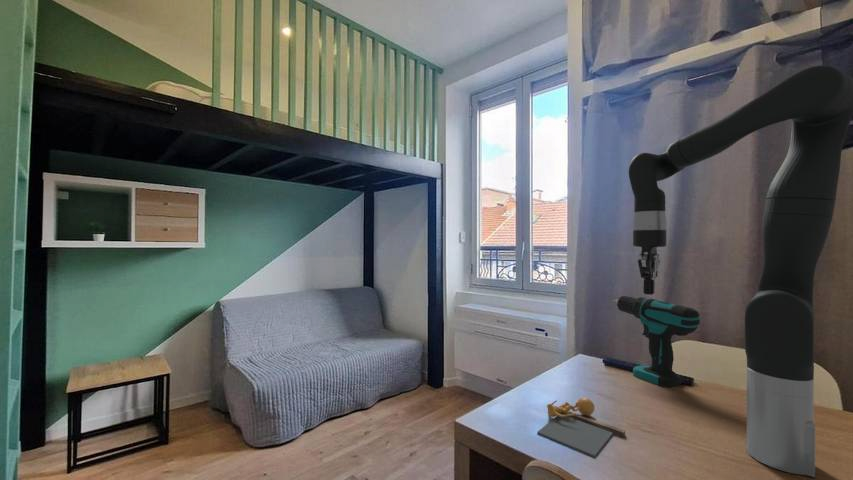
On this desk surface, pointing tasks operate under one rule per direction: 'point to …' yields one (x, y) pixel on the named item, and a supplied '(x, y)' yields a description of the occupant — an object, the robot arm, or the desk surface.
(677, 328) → the power drill
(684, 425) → the desk surface
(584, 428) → the mat
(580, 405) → the figurine
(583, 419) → the bar
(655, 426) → the desk surface
